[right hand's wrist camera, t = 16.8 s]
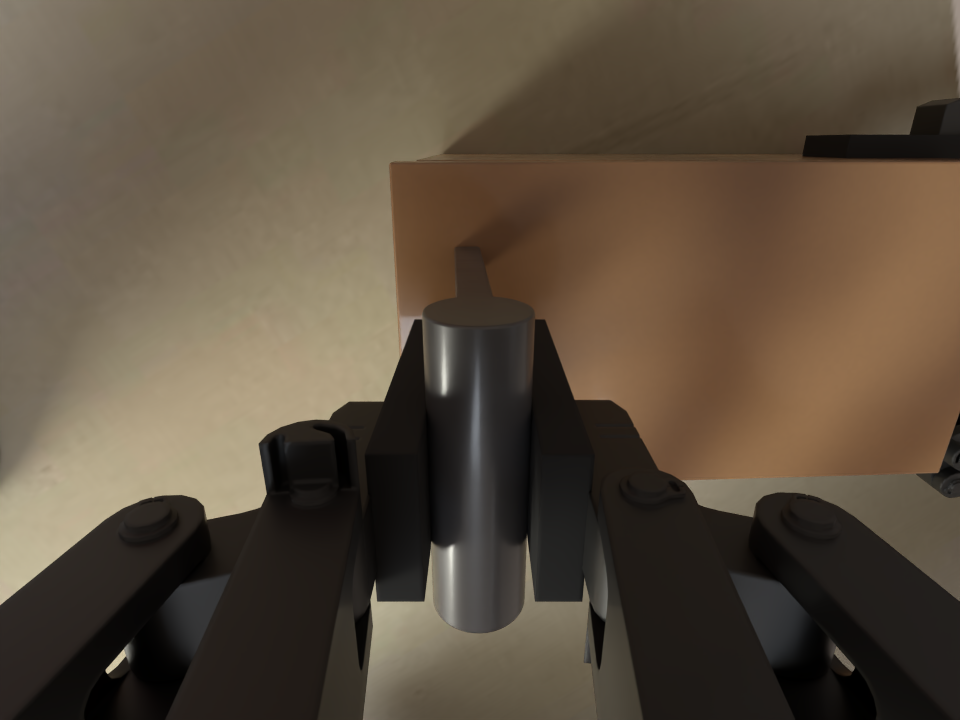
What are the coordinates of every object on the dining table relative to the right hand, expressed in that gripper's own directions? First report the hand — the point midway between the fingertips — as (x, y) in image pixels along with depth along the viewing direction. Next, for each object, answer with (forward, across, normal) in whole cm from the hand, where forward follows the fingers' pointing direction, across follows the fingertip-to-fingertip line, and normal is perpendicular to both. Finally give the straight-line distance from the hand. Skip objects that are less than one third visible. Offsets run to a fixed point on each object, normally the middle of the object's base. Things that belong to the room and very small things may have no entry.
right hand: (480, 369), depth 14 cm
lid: (+4, -6, 0) cm, 7 cm away
